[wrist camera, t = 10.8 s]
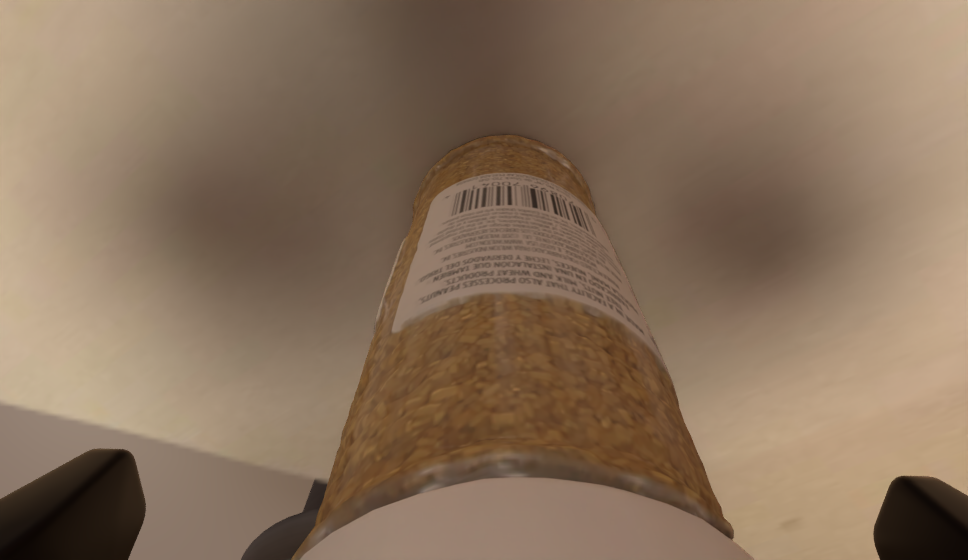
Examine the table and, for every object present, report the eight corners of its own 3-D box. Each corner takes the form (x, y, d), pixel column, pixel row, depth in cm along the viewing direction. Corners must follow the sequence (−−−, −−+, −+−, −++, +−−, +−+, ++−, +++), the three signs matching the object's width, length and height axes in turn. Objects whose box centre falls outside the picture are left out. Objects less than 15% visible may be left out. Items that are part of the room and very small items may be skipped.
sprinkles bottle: (386, 259, 16) (78, 1045, 4) (460, 95, 15) (290, 647, 3) (544, 327, 17) (658, 1158, 5) (632, 179, 15) (1129, 909, 3)
